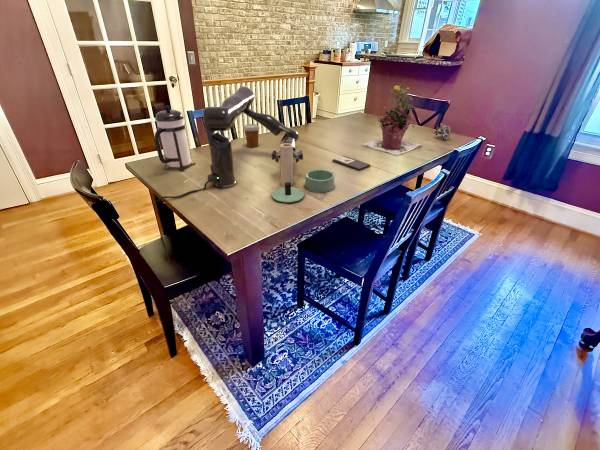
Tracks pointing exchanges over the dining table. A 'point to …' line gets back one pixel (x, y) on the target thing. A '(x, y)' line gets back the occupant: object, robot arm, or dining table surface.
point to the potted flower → (395, 126)
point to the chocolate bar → (351, 163)
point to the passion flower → (443, 131)
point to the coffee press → (172, 139)
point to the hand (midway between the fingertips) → (286, 160)
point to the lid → (288, 194)
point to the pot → (319, 180)
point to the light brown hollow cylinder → (286, 163)
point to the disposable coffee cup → (251, 134)
